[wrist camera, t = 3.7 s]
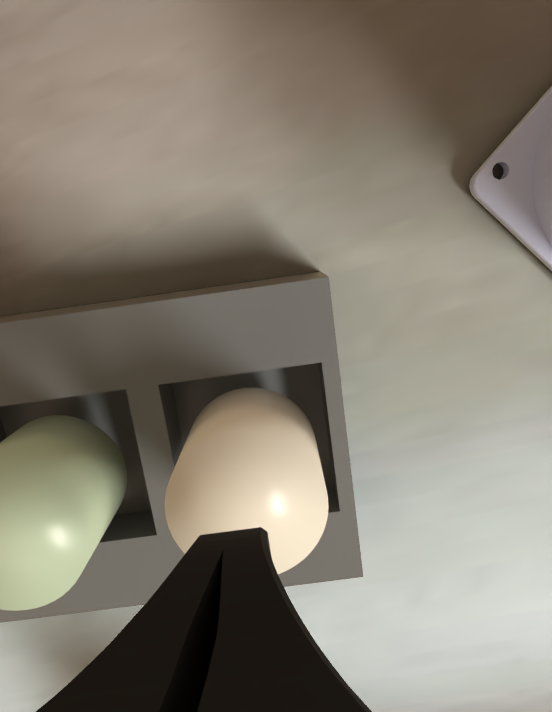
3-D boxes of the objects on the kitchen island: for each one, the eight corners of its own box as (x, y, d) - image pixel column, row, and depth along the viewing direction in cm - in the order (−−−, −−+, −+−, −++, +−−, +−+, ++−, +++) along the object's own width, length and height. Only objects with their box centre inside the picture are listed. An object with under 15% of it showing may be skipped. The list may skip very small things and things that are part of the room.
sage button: (113, 406, 16) (66, 455, 12) (138, 523, 17) (103, 600, 13) (-15, 424, 16) (-97, 477, 12) (18, 538, 17) (-50, 619, 13)
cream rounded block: (307, 379, 15) (318, 420, 12) (323, 498, 16) (337, 569, 13) (178, 396, 16) (150, 443, 12) (200, 514, 16) (180, 589, 13)
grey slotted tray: (320, 271, 17) (328, 277, 15) (351, 534, 19) (363, 576, 17) (-195, 344, 18) (-271, 361, 15) (-108, 593, 20) (-160, 642, 17)
